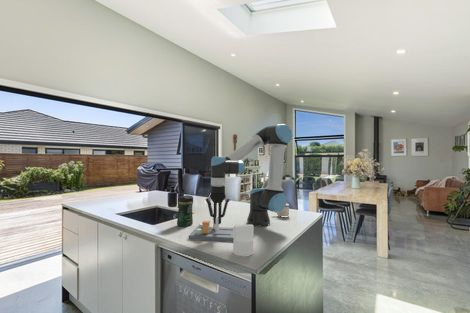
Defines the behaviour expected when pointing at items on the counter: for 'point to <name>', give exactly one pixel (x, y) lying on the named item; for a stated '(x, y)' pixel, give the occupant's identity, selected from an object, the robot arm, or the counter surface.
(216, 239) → the panel
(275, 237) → the counter surface
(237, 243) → the cylinder with rectangular tab
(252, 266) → the counter surface
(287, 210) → the teacup with lid
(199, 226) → the light grey flat piece
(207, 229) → the slider
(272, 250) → the counter surface
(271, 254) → the counter surface
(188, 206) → the coffee jar
